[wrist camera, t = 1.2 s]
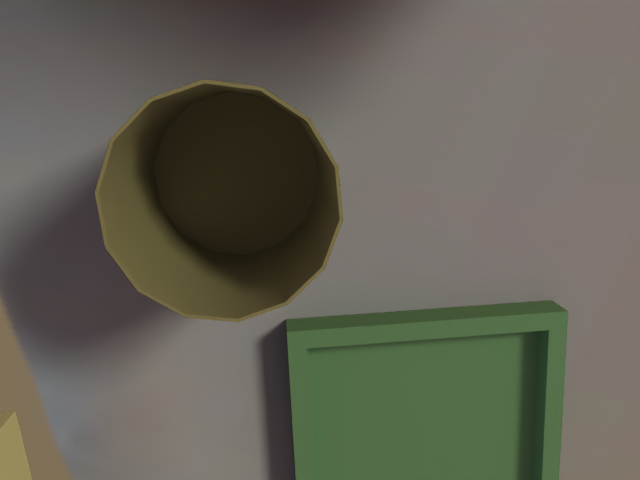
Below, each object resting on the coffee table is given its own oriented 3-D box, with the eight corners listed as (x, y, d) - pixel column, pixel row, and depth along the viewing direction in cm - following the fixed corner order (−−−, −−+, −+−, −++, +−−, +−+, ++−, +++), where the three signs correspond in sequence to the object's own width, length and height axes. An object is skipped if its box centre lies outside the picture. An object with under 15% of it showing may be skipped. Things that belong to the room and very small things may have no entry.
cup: (123, 198, 29) (50, 243, 19) (206, 56, 28) (173, 28, 18) (265, 281, 31) (264, 361, 21) (350, 151, 30) (389, 170, 20)
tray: (285, 319, 31) (286, 331, 30) (551, 300, 32) (568, 311, 31) (300, 554, 35) (301, 577, 33) (540, 529, 36) (554, 551, 34)
